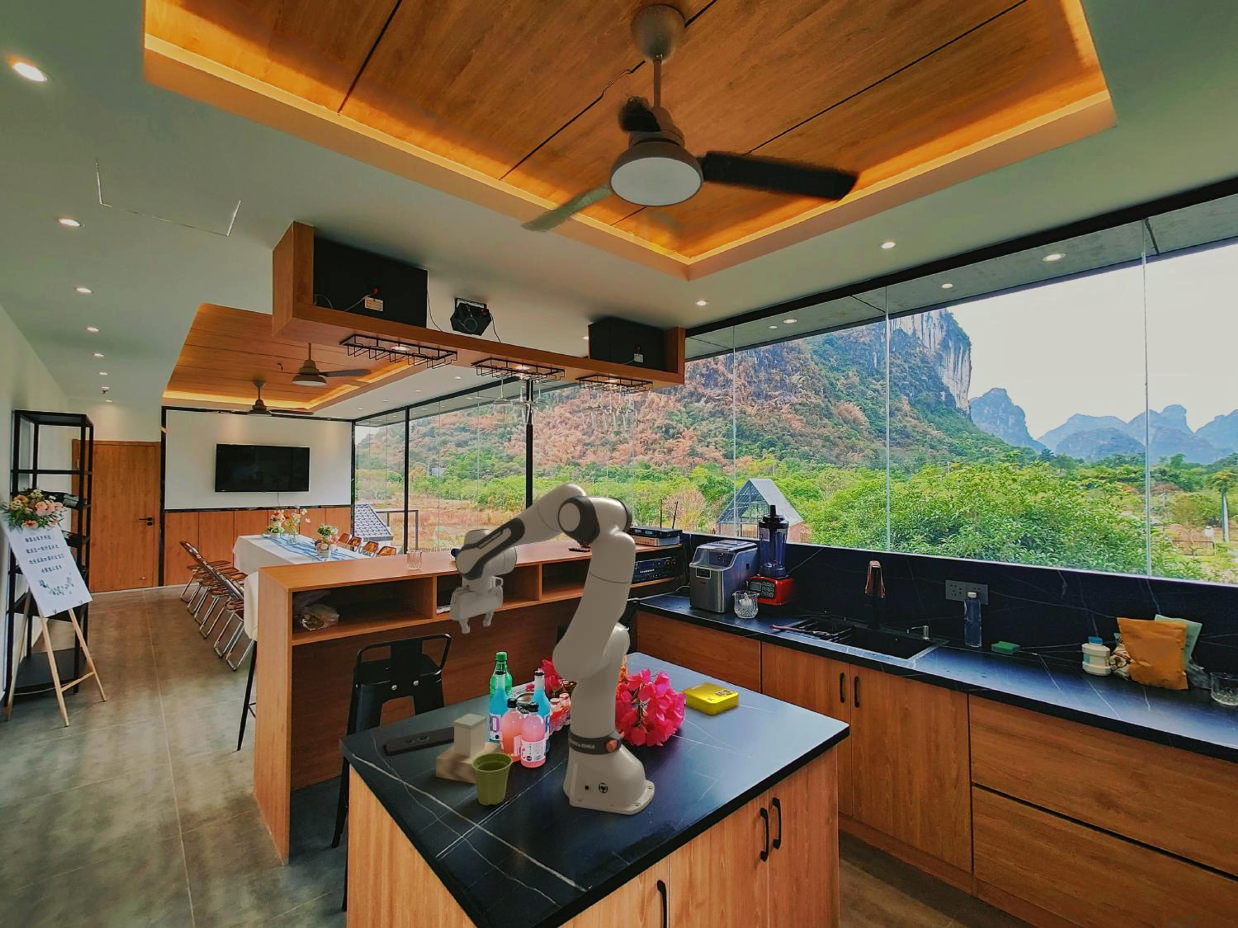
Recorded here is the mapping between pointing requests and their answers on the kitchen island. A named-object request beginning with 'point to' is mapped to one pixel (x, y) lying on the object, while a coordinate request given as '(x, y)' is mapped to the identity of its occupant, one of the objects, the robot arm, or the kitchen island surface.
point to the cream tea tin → (469, 734)
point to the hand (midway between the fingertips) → (476, 629)
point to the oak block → (461, 763)
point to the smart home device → (419, 741)
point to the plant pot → (491, 776)
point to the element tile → (711, 698)
